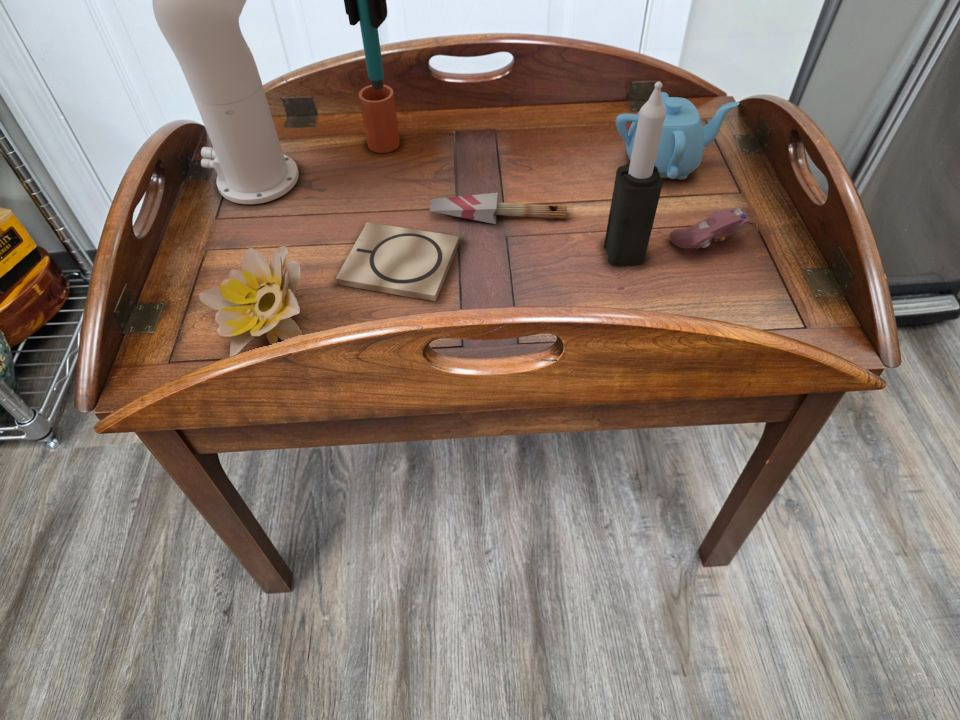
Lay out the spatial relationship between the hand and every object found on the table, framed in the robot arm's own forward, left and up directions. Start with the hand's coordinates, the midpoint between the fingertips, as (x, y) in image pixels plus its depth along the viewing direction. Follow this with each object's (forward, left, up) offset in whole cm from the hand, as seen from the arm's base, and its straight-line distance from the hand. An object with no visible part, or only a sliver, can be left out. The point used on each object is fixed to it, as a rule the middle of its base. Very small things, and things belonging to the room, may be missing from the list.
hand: (367, 21), depth 84 cm
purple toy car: (+49, -4, -24) cm, 55 cm away
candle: (+38, -9, -24) cm, 46 cm away
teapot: (+42, +13, -24) cm, 50 cm away
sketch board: (+8, -18, -24) cm, 31 cm away
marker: (0, 0, -9) cm, 9 cm away
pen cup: (-4, +9, -24) cm, 26 cm away
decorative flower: (-6, -32, -24) cm, 41 cm away
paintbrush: (+19, -5, -24) cm, 31 cm away
